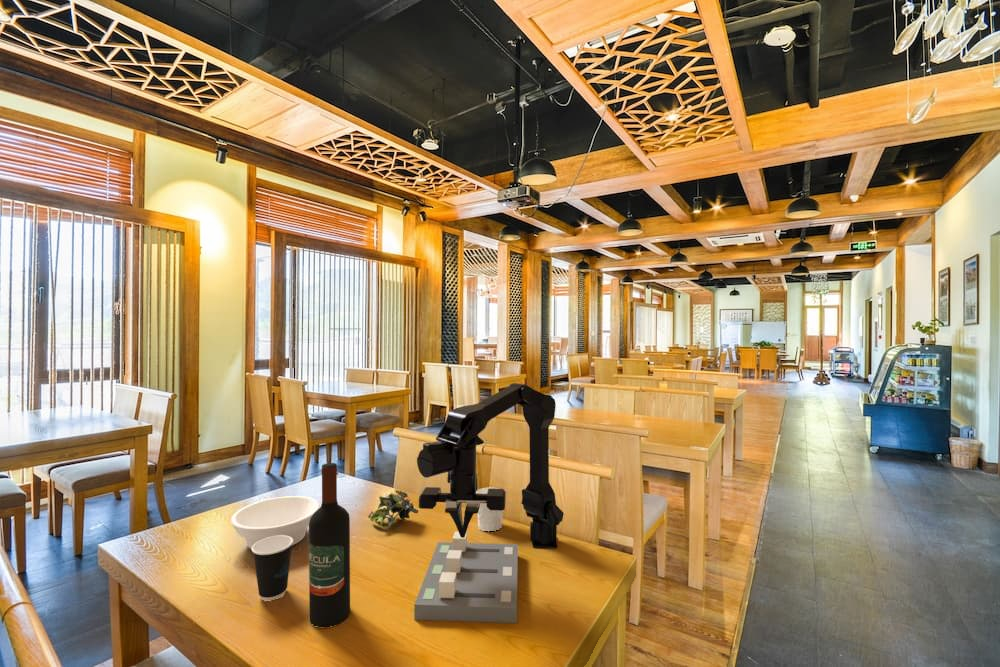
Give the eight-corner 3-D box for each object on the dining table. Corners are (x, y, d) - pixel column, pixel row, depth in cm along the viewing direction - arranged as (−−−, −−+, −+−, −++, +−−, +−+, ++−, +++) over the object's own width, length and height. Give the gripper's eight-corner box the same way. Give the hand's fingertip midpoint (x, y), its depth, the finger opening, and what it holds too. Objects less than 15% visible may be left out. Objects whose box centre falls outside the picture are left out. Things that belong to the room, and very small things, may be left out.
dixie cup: (288, 603, 92) (288, 550, 92) (246, 609, 90) (246, 555, 90) (297, 581, 100) (296, 533, 100) (258, 586, 98) (258, 537, 98)
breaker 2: (466, 544, 110) (467, 531, 110) (465, 551, 106) (465, 538, 106) (454, 544, 110) (454, 531, 110) (452, 551, 107) (452, 538, 106)
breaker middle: (461, 564, 101) (461, 550, 101) (459, 572, 97) (459, 558, 97) (448, 564, 101) (448, 550, 101) (446, 572, 98) (446, 558, 98)
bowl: (211, 552, 113) (211, 520, 113) (280, 518, 132) (280, 491, 132) (272, 569, 105) (272, 535, 105) (336, 531, 124) (336, 502, 124)
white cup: (507, 523, 129) (507, 489, 129) (498, 535, 122) (498, 499, 122) (482, 519, 132) (482, 485, 132) (471, 531, 125) (471, 495, 124)
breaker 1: (456, 587, 92) (456, 572, 92) (453, 598, 88) (453, 582, 88) (442, 587, 92) (441, 572, 92) (438, 597, 89) (438, 581, 89)
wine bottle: (358, 609, 90) (357, 462, 90) (329, 632, 83) (328, 473, 83) (330, 599, 93) (329, 457, 93) (300, 621, 87) (299, 468, 86)
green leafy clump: (401, 537, 132) (425, 504, 132) (385, 548, 121) (412, 512, 122) (374, 512, 135) (398, 479, 135) (356, 520, 124) (382, 485, 125)
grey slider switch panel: (517, 556, 111) (517, 543, 111) (516, 623, 86) (516, 607, 86) (438, 553, 112) (438, 541, 112) (414, 619, 87) (414, 604, 87)
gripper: (506, 456, 106) (506, 521, 106) (428, 455, 107) (428, 519, 107) (504, 472, 95) (504, 544, 95) (418, 470, 96) (418, 542, 96)
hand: (463, 536), depth 99 cm, fingers closed
